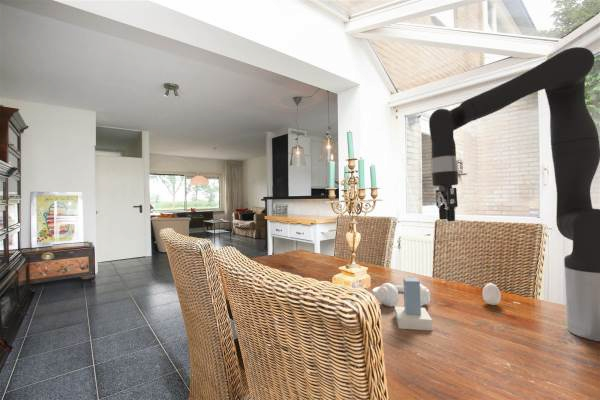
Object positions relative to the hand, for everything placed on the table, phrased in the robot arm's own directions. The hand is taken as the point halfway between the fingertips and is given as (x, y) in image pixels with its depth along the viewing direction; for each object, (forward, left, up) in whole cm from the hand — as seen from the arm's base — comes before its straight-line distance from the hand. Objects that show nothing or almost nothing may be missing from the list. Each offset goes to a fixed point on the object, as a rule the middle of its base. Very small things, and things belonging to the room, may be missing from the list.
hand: (446, 220), depth 91 cm
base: (+16, +6, -30) cm, 34 cm away
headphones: (+11, -14, -30) cm, 35 cm away
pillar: (+16, +6, -27) cm, 32 cm away
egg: (-17, -3, -30) cm, 35 cm away
